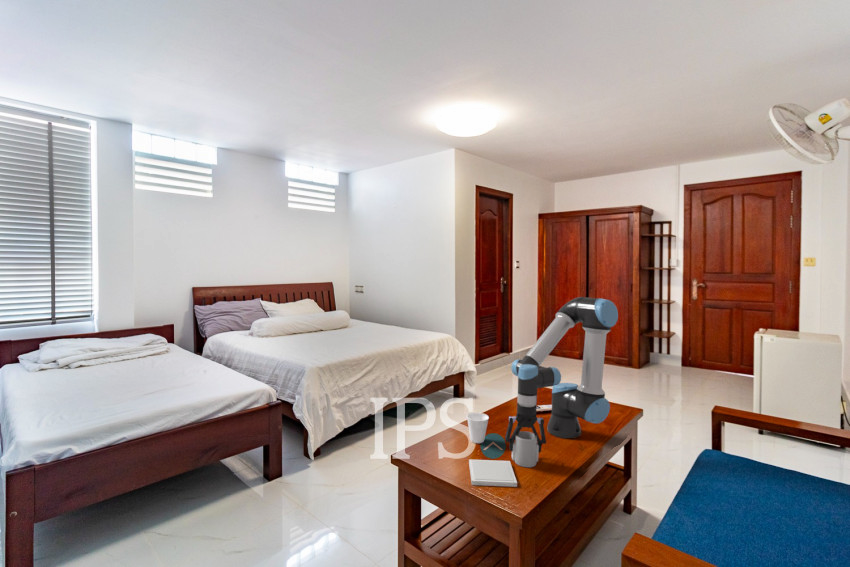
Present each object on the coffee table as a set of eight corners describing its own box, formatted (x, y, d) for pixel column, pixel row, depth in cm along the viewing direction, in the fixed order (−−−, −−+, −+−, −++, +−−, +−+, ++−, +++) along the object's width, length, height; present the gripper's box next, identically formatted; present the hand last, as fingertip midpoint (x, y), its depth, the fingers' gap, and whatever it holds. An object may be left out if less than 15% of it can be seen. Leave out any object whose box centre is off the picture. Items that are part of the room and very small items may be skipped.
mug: (532, 469, 156) (532, 441, 156) (511, 463, 161) (511, 436, 161) (542, 458, 166) (542, 431, 166) (522, 452, 171) (522, 426, 171)
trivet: (509, 464, 160) (509, 460, 160) (517, 486, 144) (517, 482, 144) (468, 463, 161) (469, 459, 161) (471, 484, 145) (471, 480, 145)
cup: (487, 446, 176) (488, 421, 175) (464, 444, 178) (465, 419, 177) (488, 437, 185) (489, 413, 185) (467, 435, 187) (467, 411, 187)
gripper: (551, 401, 166) (549, 456, 167) (498, 399, 167) (496, 453, 168) (556, 408, 159) (554, 465, 160) (501, 405, 160) (499, 462, 161)
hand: (524, 459), depth 164 cm, fingers closed on mug, 9 cm apart
